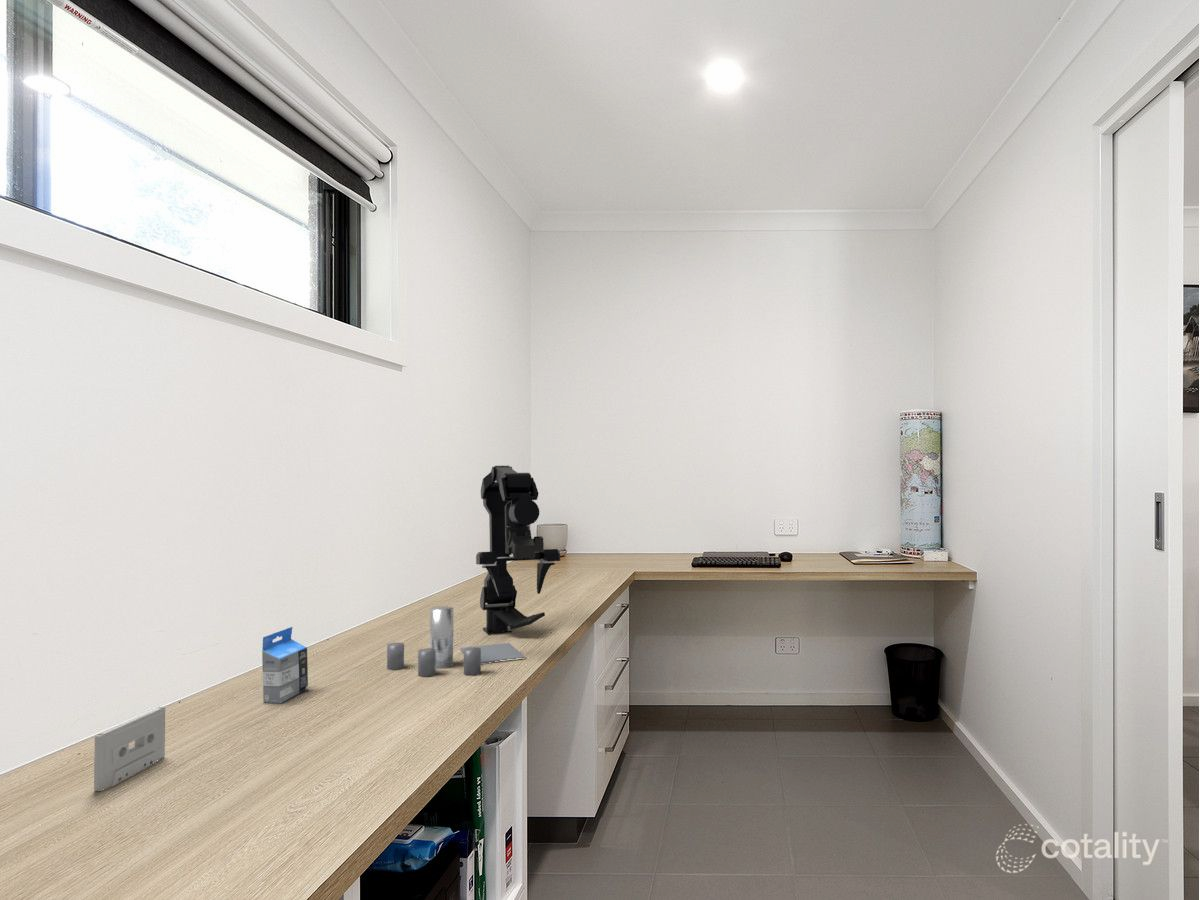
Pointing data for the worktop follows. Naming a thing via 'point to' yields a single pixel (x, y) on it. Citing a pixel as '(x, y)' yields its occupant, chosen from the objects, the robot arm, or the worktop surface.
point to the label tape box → (283, 667)
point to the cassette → (122, 761)
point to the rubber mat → (497, 652)
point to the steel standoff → (442, 635)
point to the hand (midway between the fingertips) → (519, 594)
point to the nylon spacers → (431, 660)
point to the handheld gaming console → (516, 618)
